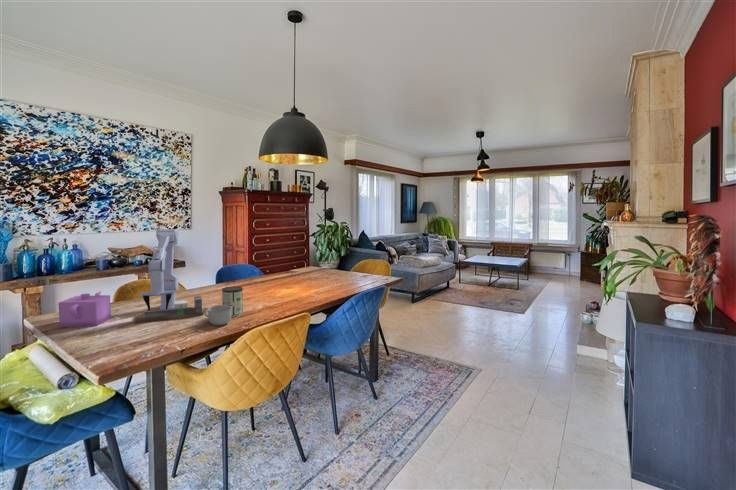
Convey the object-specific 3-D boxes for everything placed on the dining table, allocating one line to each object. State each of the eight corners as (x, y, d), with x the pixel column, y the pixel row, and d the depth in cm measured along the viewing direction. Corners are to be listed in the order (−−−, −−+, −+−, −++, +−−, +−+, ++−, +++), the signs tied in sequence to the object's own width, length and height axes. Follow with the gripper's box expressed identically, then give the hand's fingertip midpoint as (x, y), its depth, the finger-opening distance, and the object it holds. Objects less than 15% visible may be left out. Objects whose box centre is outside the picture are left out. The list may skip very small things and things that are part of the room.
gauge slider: (174, 310, 189) (174, 301, 188) (186, 309, 192) (186, 300, 191) (174, 315, 181) (174, 305, 181) (187, 313, 184) (187, 304, 184)
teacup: (236, 322, 178) (236, 306, 177) (220, 328, 168) (220, 311, 167) (214, 318, 183) (213, 303, 182) (197, 324, 172) (197, 308, 172)
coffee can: (228, 311, 196) (227, 285, 195) (246, 312, 195) (245, 286, 194) (218, 316, 186) (218, 289, 185) (237, 317, 185) (237, 290, 184)
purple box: (117, 313, 187) (116, 287, 186) (91, 329, 163) (89, 299, 161) (85, 314, 184) (83, 288, 183) (52, 331, 160) (50, 300, 158)
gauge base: (137, 316, 184) (136, 300, 183) (201, 309, 198) (201, 294, 197) (135, 322, 173) (134, 305, 172) (203, 315, 188) (202, 299, 187)
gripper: (139, 286, 174) (140, 313, 176) (173, 283, 181) (174, 309, 183) (140, 283, 180) (141, 309, 182) (173, 281, 187) (174, 306, 189)
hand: (158, 309), depth 183 cm, fingers open, 7 cm apart
